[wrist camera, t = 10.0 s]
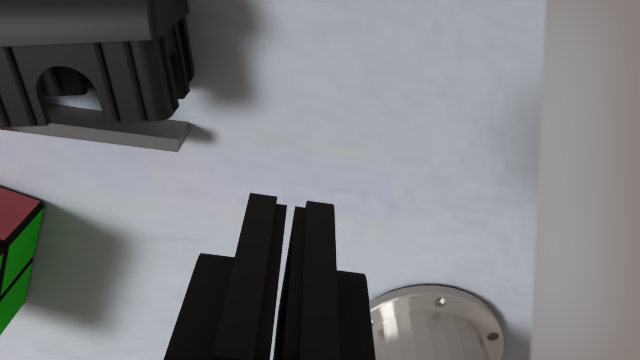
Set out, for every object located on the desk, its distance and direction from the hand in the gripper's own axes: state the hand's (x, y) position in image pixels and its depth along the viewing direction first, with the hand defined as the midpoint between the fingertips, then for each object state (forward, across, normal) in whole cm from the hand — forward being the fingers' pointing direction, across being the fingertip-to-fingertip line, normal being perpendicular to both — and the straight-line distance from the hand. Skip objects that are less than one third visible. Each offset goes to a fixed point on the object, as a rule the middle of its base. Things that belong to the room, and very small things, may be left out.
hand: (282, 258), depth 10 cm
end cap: (+21, +11, +2) cm, 24 cm away
